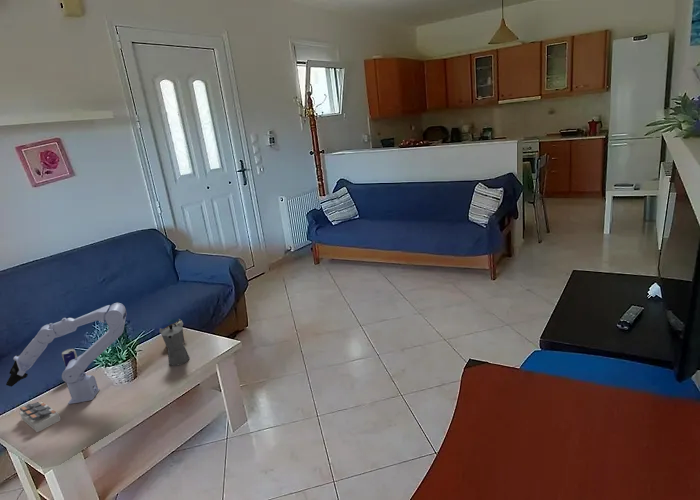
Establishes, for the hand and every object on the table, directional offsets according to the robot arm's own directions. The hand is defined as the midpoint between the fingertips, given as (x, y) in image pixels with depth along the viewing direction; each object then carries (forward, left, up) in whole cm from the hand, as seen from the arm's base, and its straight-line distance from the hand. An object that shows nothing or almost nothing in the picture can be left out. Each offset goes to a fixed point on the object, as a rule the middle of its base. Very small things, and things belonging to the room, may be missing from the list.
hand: (10, 379), depth 176 cm
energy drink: (-9, -26, -15) cm, 31 cm away
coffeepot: (-56, -23, -15) cm, 63 cm away
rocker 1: (-7, +5, -11) cm, 13 cm away
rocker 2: (-10, +8, -11) cm, 17 cm away
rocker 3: (-14, +12, -11) cm, 21 cm away
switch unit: (-11, +8, -15) cm, 20 cm away
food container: (-51, -42, -15) cm, 68 cm away
